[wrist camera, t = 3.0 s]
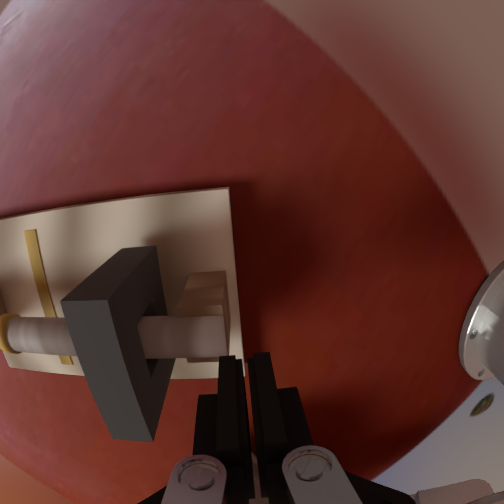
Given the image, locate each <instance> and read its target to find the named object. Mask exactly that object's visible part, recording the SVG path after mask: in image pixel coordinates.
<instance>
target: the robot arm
mask: <svg viewBox="0 0 504 504" xmlns="http://www.w3.org/2000/svg"><path fill="white" fill-rule="evenodd" d="M459 357H460V361H461V364H462V366H463V368H464V369H465V371H466V372H467V373H468V374H469V375H470V376H471V377H473V378H475V379H477V380H487V379H492V378H494V377H496V378H497V379H498V380H499V381H500V382H501V383H502V384H503V385H504V261H503V262H502V263H500V264H499V265H498V267H496V268H495V269H494V270H493V272H492V273H491V274H490V275H489V276H488V278H487V279H486V280H485V282H484V283H483V284H482V286H481V288H480V289H479V291H478V292H477V294H476V296H475V298H474V300H473V302H472V304H471V306H470V307H469V310H468V312H467V315H466V318H465V320H464V323H463V327H462V331H461V334H460V341H459ZM247 361H248V372H249V382H250V393H251V403H252V414H253V424H254V434H255V444H256V454H257V463H258V473H259V482H260V491H261V498H268V500H269V504H504V491H502V492H498V493H493V489H492V488H491V486H490V484H489V483H487V482H486V481H484V480H480V479H474V480H473V479H472V480H468V481H464V482H460V483H456V484H451V485H447V486H442V487H438V488H432V489H427V490H421V491H418V492H417V493H416V494H412V495H407V494H405V493H403V492H400V491H397V490H394V489H392V488H389V487H385V486H383V485H380V484H377V483H375V482H372V481H369V480H367V479H364V478H362V477H359V476H357V475H354V474H352V473H349V472H347V471H344V470H343V469H342V467H341V465H340V463H339V462H338V460H337V458H336V457H335V455H334V454H333V453H332V452H331V451H329V450H327V449H326V448H323V447H320V446H313V442H312V439H311V435H310V432H309V428H308V424H307V421H306V417H305V414H304V410H303V407H302V403H301V400H300V396H299V393H298V389H297V387H290V388H282V389H277V387H276V382H275V377H274V372H273V367H272V362H271V357H270V352H264V353H253V358H247ZM249 499H255V487H254V476H253V465H252V453H251V442H250V430H249V419H248V409H247V400H246V391H245V381H244V372H243V362H242V359H236V356H235V355H228V356H219V368H218V394H207V395H199V397H198V404H197V414H196V424H195V434H194V445H193V456H189V457H186V458H184V459H182V460H180V461H179V462H178V463H177V464H176V465H175V467H174V468H173V470H172V473H171V476H170V479H169V482H168V485H167V486H165V487H164V488H162V489H161V490H159V491H158V492H156V493H154V494H153V495H151V496H150V497H148V498H146V499H145V500H143V501H141V502H140V503H138V504H249Z"/></svg>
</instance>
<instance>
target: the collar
mask: <svg viewBox="0 0 504 504" xmlns="http://www.w3.org/2000/svg"><path fill="white" fill-rule="evenodd" d="M60 304H61V307H62V311H63V314H64V317H65V321H66V324H67V327H68V330H69V333H70V336H71V339H72V342H73V345H74V348H75V351H76V354H77V357H78V359H79V362H80V365H81V367H82V370H83V373H84V375H85V378H86V380H87V383H88V385H89V388H90V390H91V392H92V395H93V397H94V399H95V402H96V404H97V406H98V408H99V411H100V413H101V415H102V417H103V419H104V421H105V424H106V426H107V428H108V430H109V432H110V434H111V436H112V438H113V439H122V440H133V441H145V442H153V441H154V437H155V433H156V430H157V426H158V422H159V418H160V414H161V411H162V407H163V403H164V399H165V396H166V392H167V389H168V385H169V381H170V378H171V374H172V371H173V367H174V364H175V360H176V358H164V359H145V355H144V352H143V348H142V344H141V340H140V336H139V332H138V328H137V325H138V323H139V321H140V319H141V318H142V317H144V316H168V314H167V308H166V303H165V298H164V292H163V286H162V280H161V274H160V268H159V261H158V255H157V248H156V245H154V246H142V247H131V248H122V249H120V250H119V251H118V252H117V253H115V254H114V255H113V256H112V257H111V258H109V259H108V260H107V261H106V262H105V263H103V264H102V265H101V266H100V267H99V268H97V269H96V270H95V271H94V272H93V273H91V274H90V275H89V276H88V277H87V278H86V279H84V280H83V281H82V282H81V283H80V284H79V285H78V286H76V287H75V288H74V289H73V290H72V291H71V292H70V293H69V294H67V295H66V296H65V297H64V298H63V299H62V300H61V301H60Z"/></svg>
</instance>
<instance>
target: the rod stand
mask: <svg viewBox="0 0 504 504" xmlns="http://www.w3.org/2000/svg"><path fill="white" fill-rule="evenodd" d="M154 245H156V248H157V255H158V261H159V268H160V274H161V280H162V286H163V292H164V298H165V303H166V308H167V314H168V316H144V317H142V318H141V319H140V321H139V323H138V325H137V328H138V332H139V336H140V340H141V344H142V348H143V352H144V355H145V359H164V358H176V360H175V364H174V367H173V371H172V374H171V378H170V379H196V378H218V368H219V356H228V355H235V356H236V359H242V362H243V372H244V376H245V363H244V353H243V342H242V332H241V321H240V311H239V300H238V289H237V277H236V266H235V254H234V243H233V230H232V218H231V206H230V193H229V187H221V188H209V189H198V190H188V191H178V192H169V193H160V194H151V195H143V196H134V197H127V198H119V199H112V200H105V201H98V202H91V203H84V204H78V205H71V206H65V207H59V208H53V209H48V210H42V211H36V212H31V213H26V214H20V215H15V216H10V217H5V218H0V349H1V350H3V353H4V355H5V358H6V360H7V362H8V364H9V367H13V368H20V369H27V370H34V371H42V372H51V373H60V374H70V375H82V376H85V375H84V373H83V370H82V367H81V365H80V362H79V359H78V357H77V354H76V351H75V348H74V345H73V342H72V339H71V336H70V333H69V330H68V327H67V324H66V321H65V317H64V314H63V311H62V307H61V304H60V301H61V300H62V299H63V298H64V297H65V296H66V295H67V294H69V293H70V292H71V291H72V290H73V289H74V288H75V287H76V286H78V285H79V284H80V283H81V282H82V281H83V280H84V279H86V278H87V277H88V276H89V275H90V274H91V273H93V272H94V271H95V270H96V269H97V268H99V267H100V266H101V265H102V264H103V263H105V262H106V261H107V260H108V259H109V258H111V257H112V256H113V255H114V254H115V253H117V252H118V251H119V250H120V249H122V248H131V247H142V246H154Z"/></svg>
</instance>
